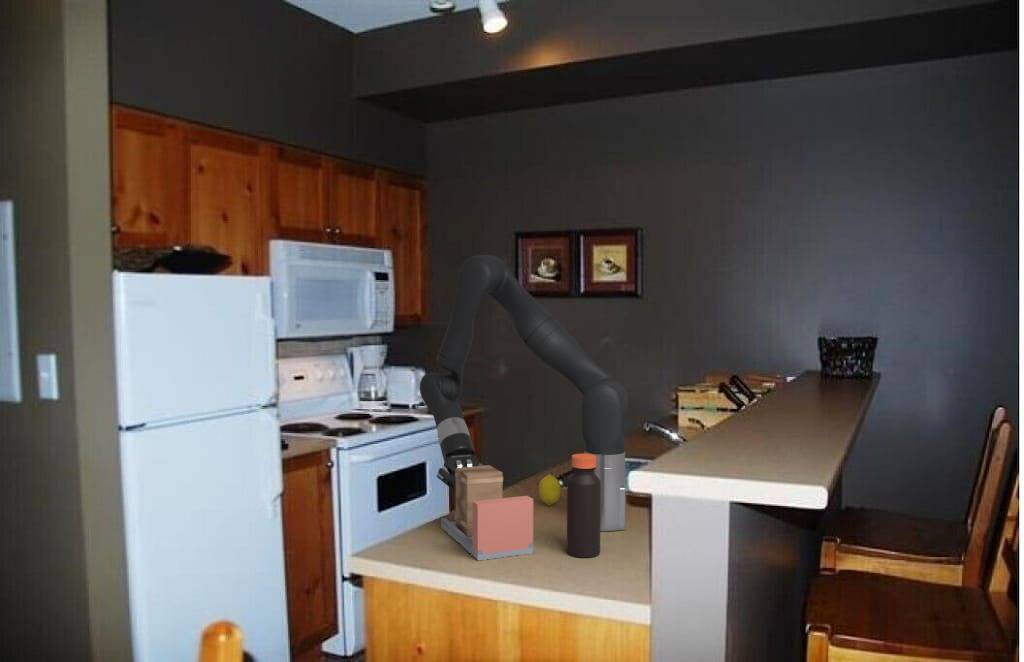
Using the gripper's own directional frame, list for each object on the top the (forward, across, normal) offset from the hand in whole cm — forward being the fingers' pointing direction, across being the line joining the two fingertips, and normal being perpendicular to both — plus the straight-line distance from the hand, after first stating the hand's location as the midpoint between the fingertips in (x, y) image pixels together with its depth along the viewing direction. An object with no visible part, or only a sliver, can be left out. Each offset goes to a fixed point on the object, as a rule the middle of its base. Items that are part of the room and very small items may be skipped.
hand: (472, 504), depth 174 cm
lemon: (-4, +25, +13) cm, 28 cm away
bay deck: (+10, 0, -2) cm, 10 cm away
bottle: (+21, +16, -13) cm, 29 cm away
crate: (+6, 0, 0) cm, 6 cm away
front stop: (+17, 0, -10) cm, 19 cm away
